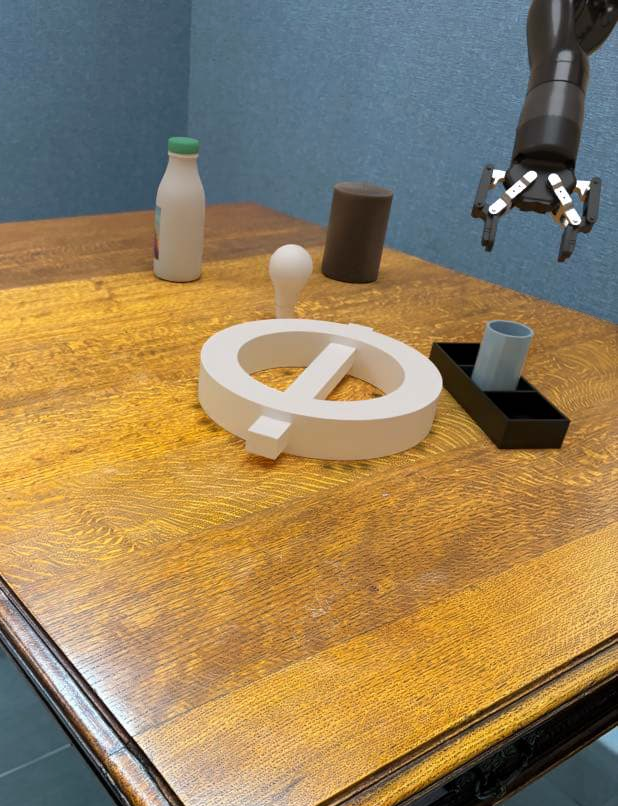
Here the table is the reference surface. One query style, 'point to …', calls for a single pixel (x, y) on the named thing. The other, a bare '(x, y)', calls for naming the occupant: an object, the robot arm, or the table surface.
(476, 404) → the rack
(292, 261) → the lightbulb
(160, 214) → the milk bottle
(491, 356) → the cup
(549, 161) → the robot arm
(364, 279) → the pillar candle
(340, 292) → the table surface
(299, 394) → the ring with crossbar
